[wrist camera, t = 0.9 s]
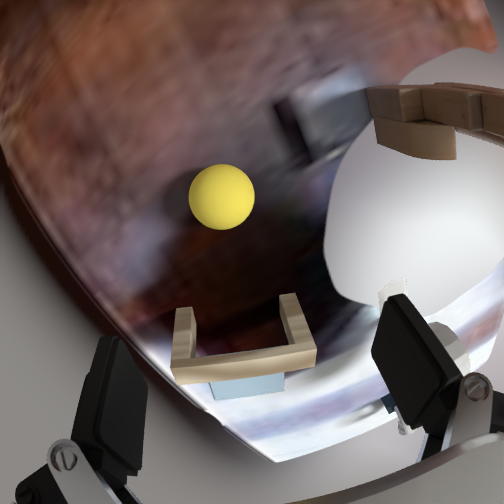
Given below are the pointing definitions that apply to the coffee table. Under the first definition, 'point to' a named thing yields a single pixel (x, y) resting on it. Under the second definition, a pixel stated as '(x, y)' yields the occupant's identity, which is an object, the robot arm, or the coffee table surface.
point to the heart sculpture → (433, 328)
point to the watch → (391, 408)
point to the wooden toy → (435, 117)
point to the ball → (221, 196)
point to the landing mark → (248, 386)
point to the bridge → (242, 363)
